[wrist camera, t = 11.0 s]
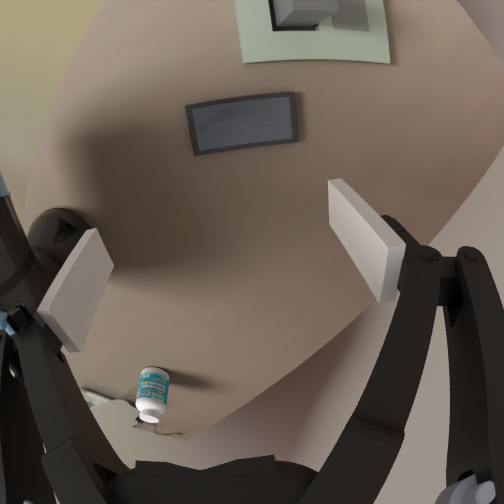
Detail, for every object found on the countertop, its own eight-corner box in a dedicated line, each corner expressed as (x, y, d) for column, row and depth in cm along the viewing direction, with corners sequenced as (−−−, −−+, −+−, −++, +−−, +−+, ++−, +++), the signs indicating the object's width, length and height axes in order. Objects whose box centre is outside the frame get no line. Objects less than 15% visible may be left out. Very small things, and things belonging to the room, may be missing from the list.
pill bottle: (170, 368, 65) (165, 416, 54) (169, 382, 69) (165, 426, 58) (140, 363, 63) (132, 410, 52) (142, 377, 67) (135, 421, 56)
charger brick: (275, 28, 28) (294, 9, 19) (271, -1, 25) (287, -28, 16) (309, 27, 28) (339, 11, 19) (305, -1, 25) (333, -25, 16)
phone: (195, 153, 37) (194, 156, 36) (186, 105, 33) (185, 106, 32) (296, 140, 37) (298, 142, 36) (292, 91, 33) (294, 92, 32)
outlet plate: (242, 63, 31) (243, 62, 29) (230, -25, 23) (230, -31, 21) (383, 63, 31) (390, 63, 29) (372, -19, 23) (379, -22, 21)
